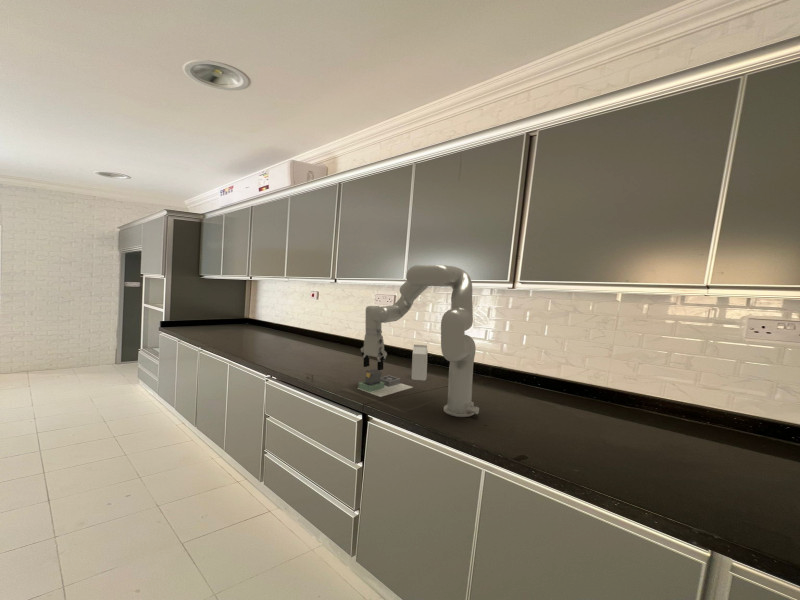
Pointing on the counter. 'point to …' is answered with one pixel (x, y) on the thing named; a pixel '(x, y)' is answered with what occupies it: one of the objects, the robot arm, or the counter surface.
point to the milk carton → (419, 362)
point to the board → (389, 386)
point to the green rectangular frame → (371, 386)
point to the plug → (373, 377)
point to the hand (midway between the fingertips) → (373, 368)
